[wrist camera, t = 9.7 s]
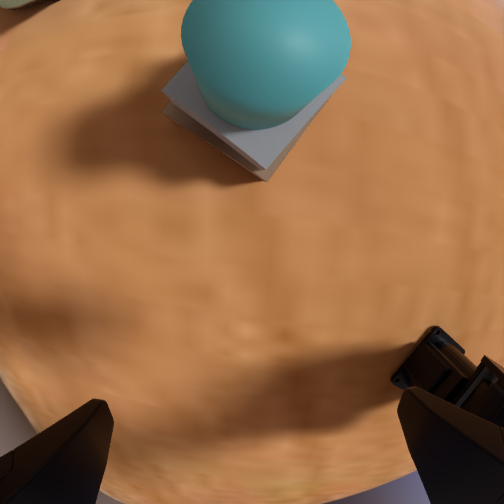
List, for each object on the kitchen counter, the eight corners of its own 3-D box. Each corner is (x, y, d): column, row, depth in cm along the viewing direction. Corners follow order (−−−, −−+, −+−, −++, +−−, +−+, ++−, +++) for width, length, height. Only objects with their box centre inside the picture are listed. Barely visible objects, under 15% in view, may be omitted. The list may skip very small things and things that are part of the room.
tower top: (327, 92, 15) (346, 78, 12) (260, 170, 16) (266, 169, 13) (244, 30, 13) (247, 4, 10) (174, 104, 14) (161, 90, 11)
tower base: (323, 98, 17) (337, 86, 15) (261, 180, 19) (267, 182, 16) (236, 40, 16) (236, 21, 13) (172, 121, 17) (161, 112, 14)
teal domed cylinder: (331, 75, 12) (378, 34, 7) (264, 152, 12) (283, 138, 8) (247, 15, 11) (255, -48, 6) (175, 87, 11) (146, 42, 7)
